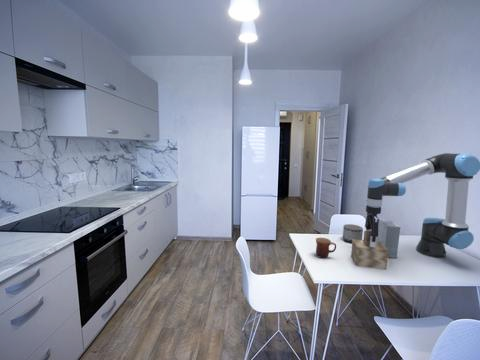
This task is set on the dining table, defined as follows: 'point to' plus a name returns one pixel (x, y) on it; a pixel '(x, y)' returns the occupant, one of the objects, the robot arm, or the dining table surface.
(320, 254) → the mug
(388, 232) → the hard drive box
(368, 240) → the walnut block
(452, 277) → the dining table surface
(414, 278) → the dining table surface
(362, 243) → the lid
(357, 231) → the planter
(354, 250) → the light wooden box
